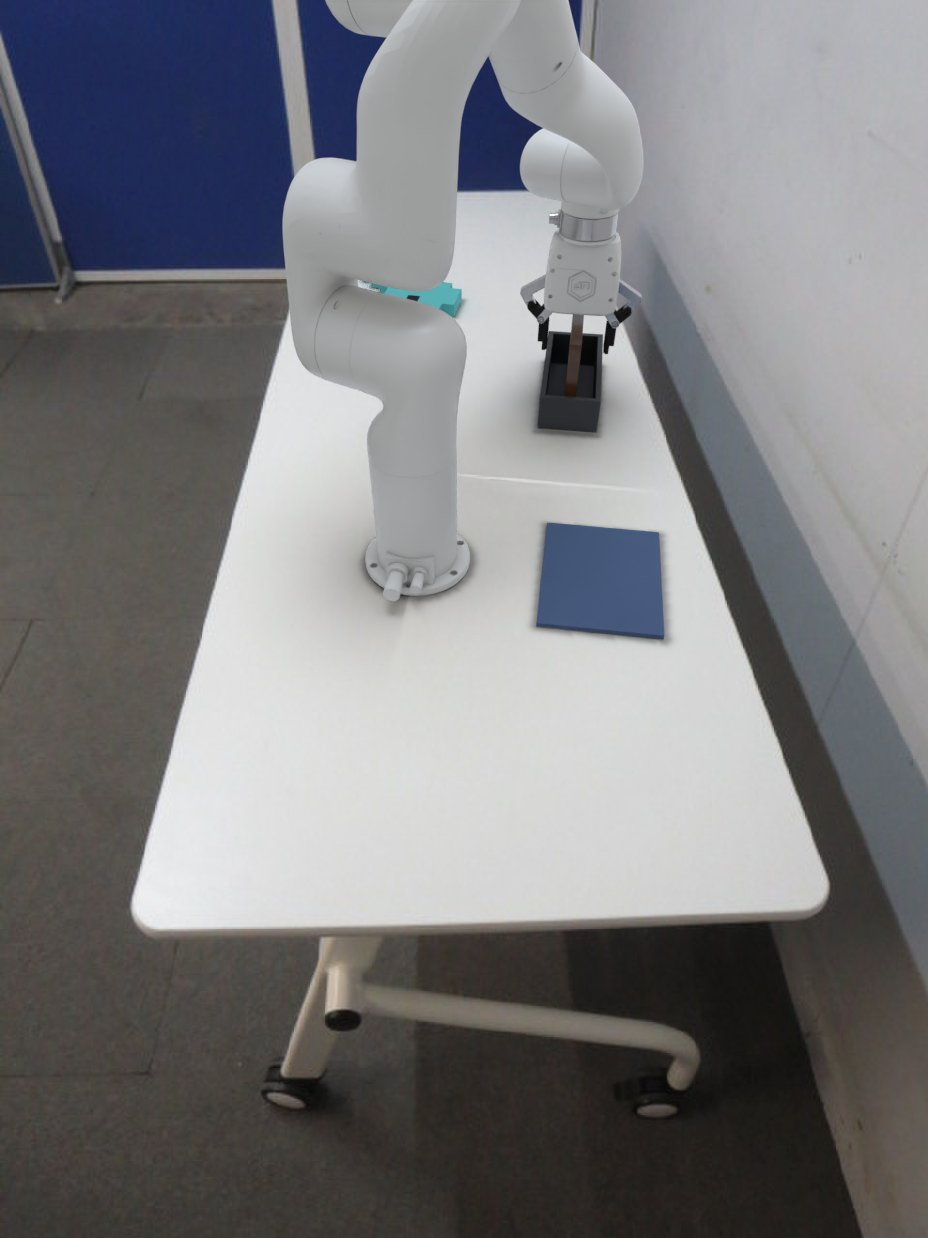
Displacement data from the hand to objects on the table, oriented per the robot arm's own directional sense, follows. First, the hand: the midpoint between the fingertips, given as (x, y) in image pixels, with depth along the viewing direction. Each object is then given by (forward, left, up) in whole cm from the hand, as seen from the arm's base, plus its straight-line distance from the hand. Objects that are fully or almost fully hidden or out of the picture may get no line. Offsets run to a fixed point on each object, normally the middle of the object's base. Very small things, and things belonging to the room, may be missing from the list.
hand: (575, 347), depth 118 cm
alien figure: (+29, +32, -8) cm, 44 cm away
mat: (-41, -5, -8) cm, 42 cm away
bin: (0, 0, -8) cm, 8 cm away
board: (0, 0, -8) cm, 8 cm away
